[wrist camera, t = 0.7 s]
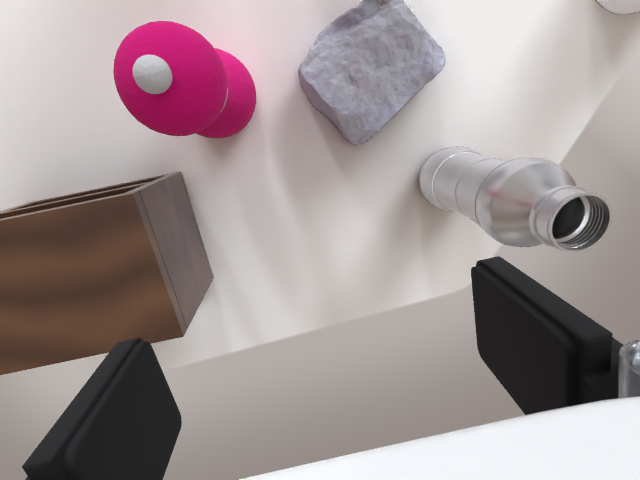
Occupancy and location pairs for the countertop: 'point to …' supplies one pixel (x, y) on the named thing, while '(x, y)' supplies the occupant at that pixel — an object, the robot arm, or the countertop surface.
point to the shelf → (98, 271)
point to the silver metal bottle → (516, 199)
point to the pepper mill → (182, 82)
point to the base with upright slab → (621, 6)
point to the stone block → (369, 66)
